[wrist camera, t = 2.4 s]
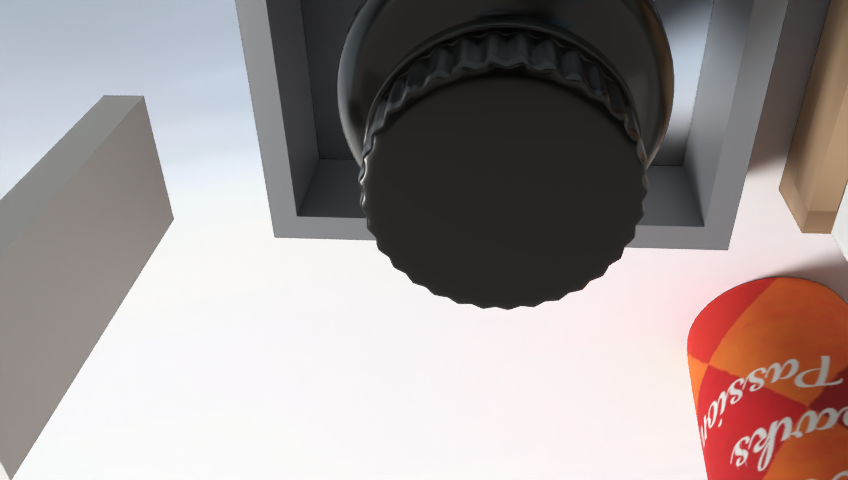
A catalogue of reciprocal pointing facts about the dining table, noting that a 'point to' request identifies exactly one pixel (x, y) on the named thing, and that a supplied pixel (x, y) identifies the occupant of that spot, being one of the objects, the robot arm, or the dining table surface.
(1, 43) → the dining table surface
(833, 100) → the tray
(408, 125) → the supplement bottle
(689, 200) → the holder box
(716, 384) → the coffee cup
